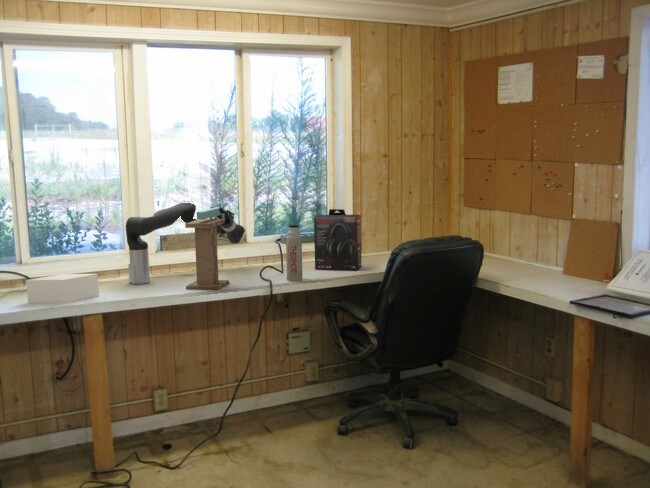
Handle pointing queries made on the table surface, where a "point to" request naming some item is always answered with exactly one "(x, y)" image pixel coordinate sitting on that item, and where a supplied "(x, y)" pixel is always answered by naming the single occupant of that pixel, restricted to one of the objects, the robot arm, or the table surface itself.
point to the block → (62, 288)
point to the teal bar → (208, 213)
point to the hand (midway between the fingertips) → (215, 208)
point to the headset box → (337, 241)
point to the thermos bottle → (294, 254)
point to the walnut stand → (206, 255)
